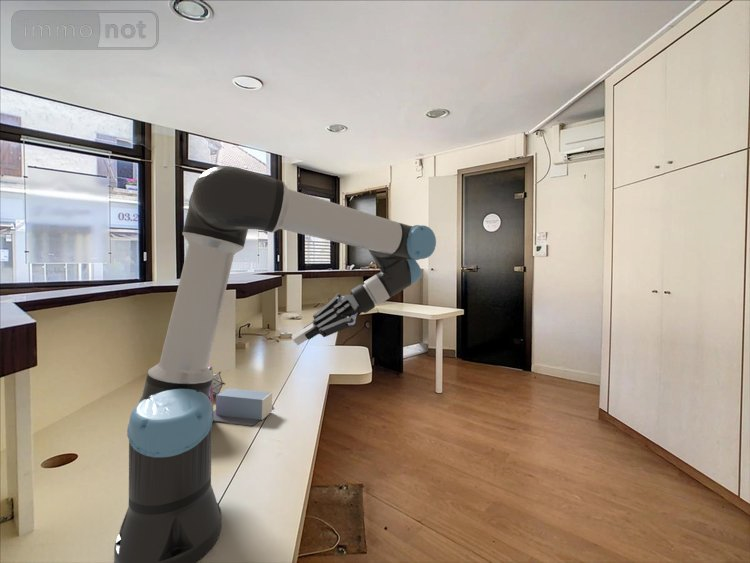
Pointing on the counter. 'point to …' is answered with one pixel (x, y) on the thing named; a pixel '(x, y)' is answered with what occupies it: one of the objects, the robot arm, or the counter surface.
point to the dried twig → (217, 383)
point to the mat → (234, 420)
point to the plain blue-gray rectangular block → (244, 403)
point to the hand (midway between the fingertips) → (294, 340)
